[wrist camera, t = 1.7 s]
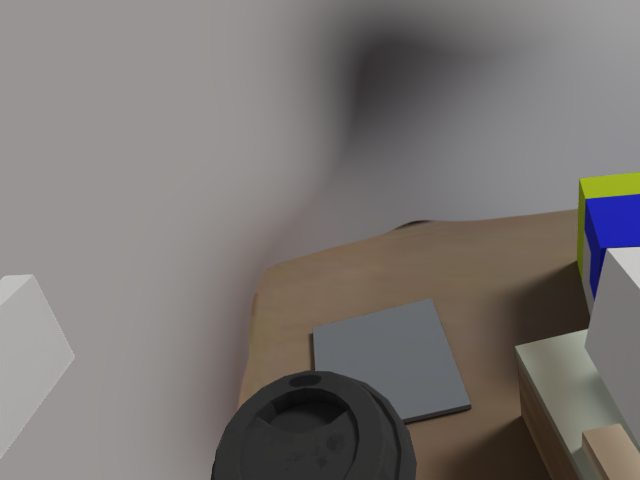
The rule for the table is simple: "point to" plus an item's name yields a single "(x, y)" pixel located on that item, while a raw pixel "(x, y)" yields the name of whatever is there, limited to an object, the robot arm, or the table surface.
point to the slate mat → (396, 359)
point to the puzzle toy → (605, 223)
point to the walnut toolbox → (573, 412)
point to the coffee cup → (315, 433)
